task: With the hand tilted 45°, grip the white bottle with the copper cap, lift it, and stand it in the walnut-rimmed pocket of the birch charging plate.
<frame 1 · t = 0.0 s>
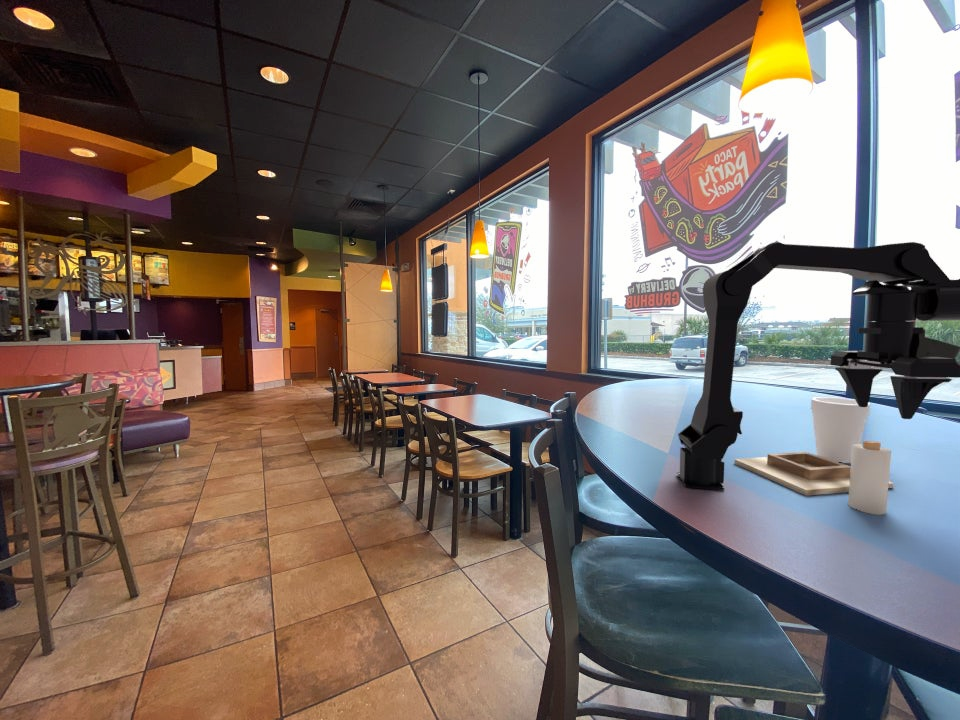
hand: (883, 412, 66), 15 cm above the table, tool pointing down, fingers open, 9 cm apart
charging plate: (806, 474, 76), on the table
white bottle: (866, 508, 62), on the table
foam cup: (835, 459, 85), on the table
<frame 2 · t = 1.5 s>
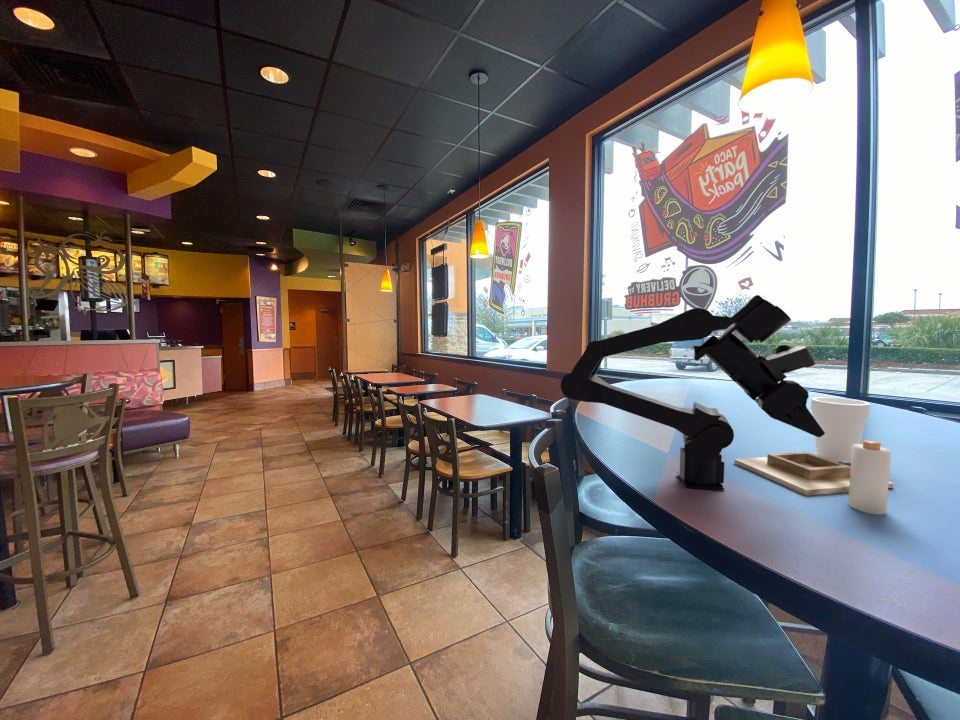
hand: (812, 428, 65), 12 cm above the table, tool tilted 45°, fingers open, 9 cm apart
nothing on the table moved.
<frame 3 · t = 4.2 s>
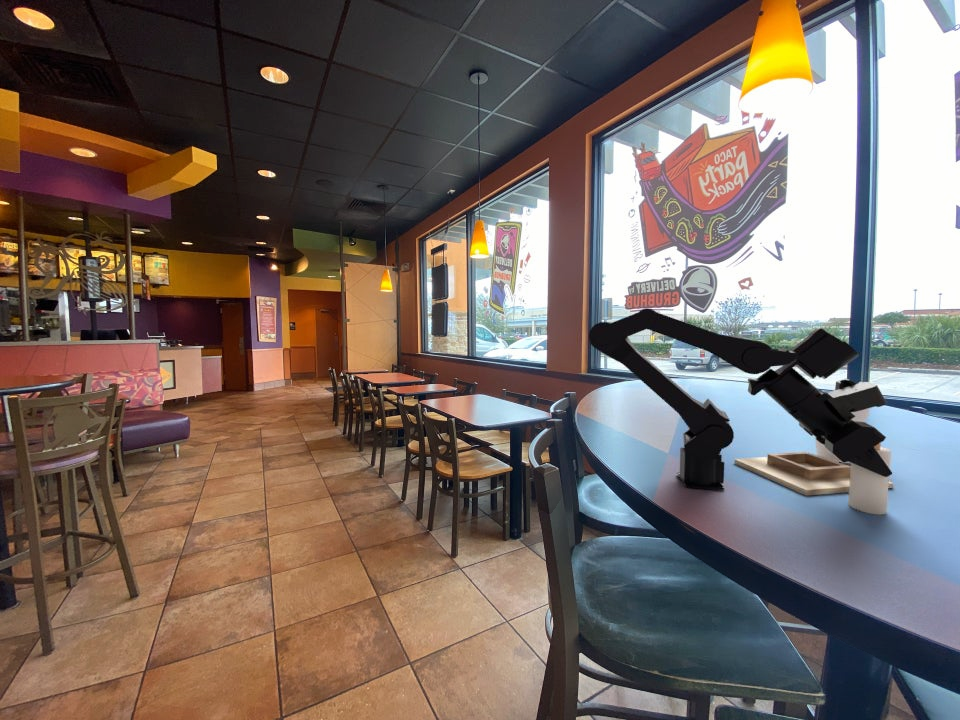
hand: (881, 470, 61), 7 cm above the table, tool tilted 45°, fingers closed on white bottle, 4 cm apart
white bottle: (866, 507, 62), on the table, touching gripper
everything else where it was.
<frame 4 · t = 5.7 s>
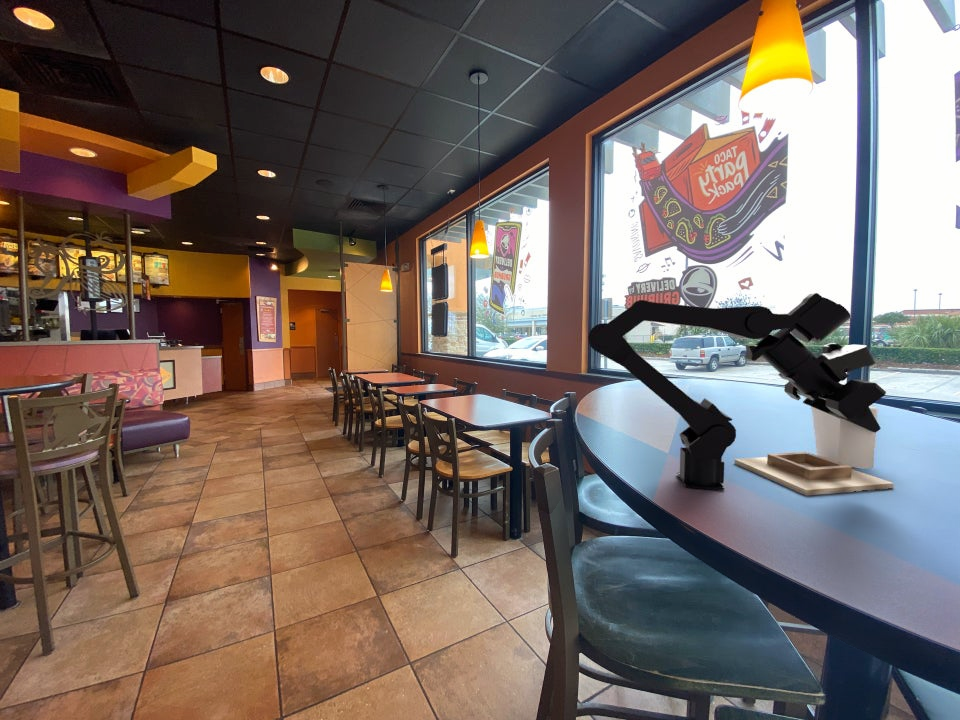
hand: (867, 426, 65), 13 cm above the table, tool tilted 45°, fingers closed on white bottle, 4 cm apart
white bottle: (854, 464, 66), point 6 cm above the table, touching gripper
everything else where it was.
when the fingers open (9 cm above the table, at t = 7.5 s): white bottle drops 1 cm, resting on charging plate.
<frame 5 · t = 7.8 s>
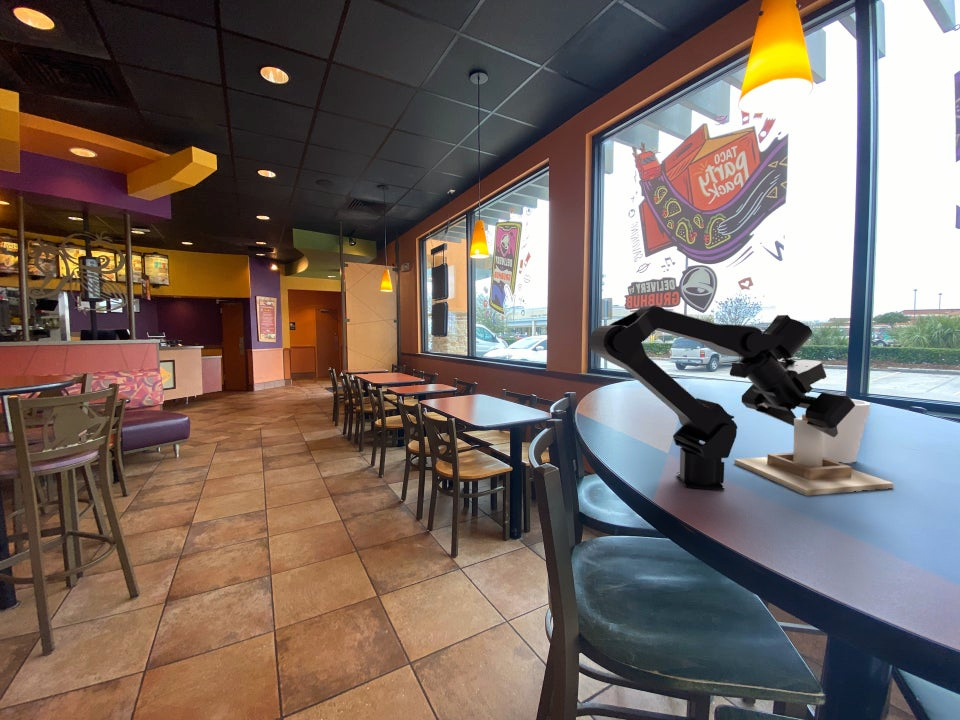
hand: (815, 430, 76), 9 cm above the table, tool tilted 45°, fingers open, 7 cm apart
white bottle: (807, 469, 76), point 1 cm above the table, touching charging plate
everything else where it was.
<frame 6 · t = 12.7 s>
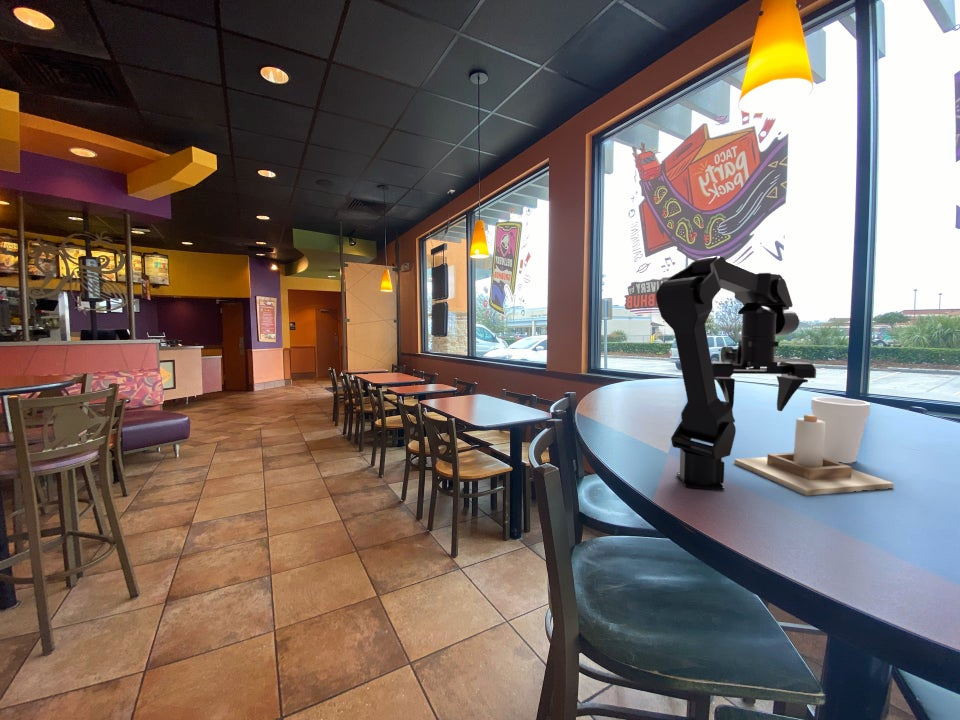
hand: (754, 410, 81), 12 cm above the table, tool pointing down, fingers open, 9 cm apart
nothing on the table moved.
at the end: white bottle 0.0 cm off-centre on the charging plate, point 1.0 cm above the charging plate's base; white bottle tilted 0°; the gripper is holding nothing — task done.
